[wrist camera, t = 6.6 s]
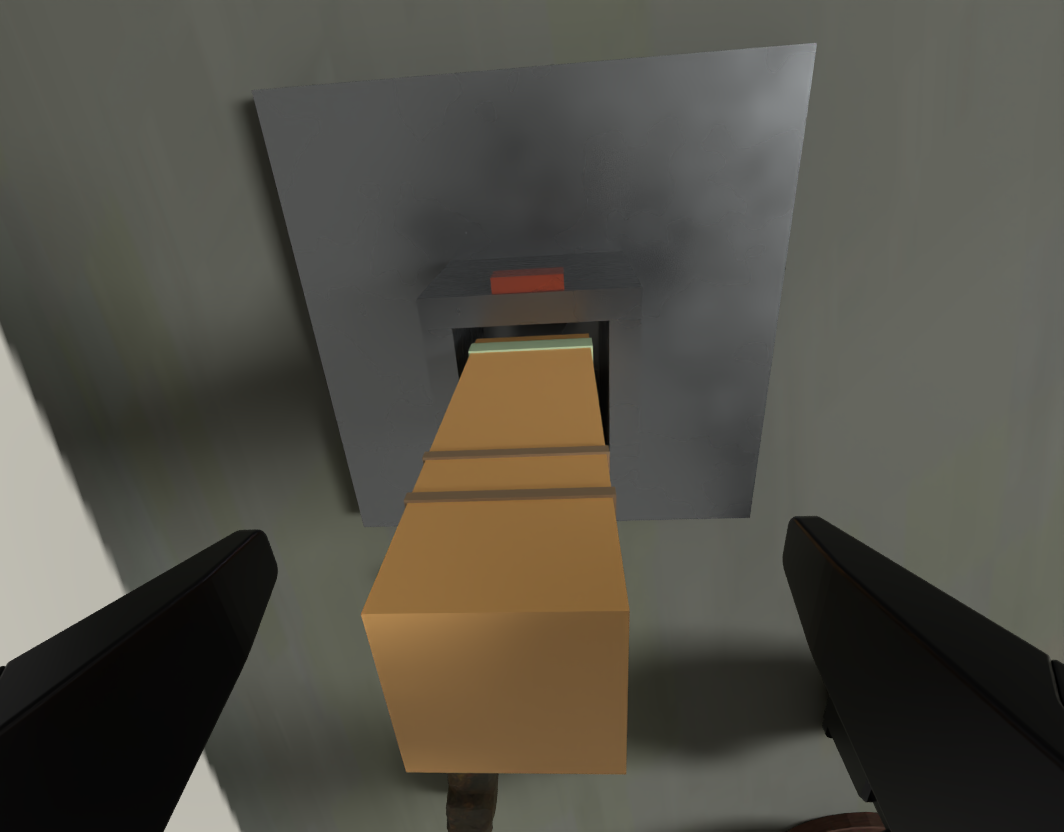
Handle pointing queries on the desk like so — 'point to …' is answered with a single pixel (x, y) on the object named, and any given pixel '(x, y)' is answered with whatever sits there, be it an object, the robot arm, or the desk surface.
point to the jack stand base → (552, 252)
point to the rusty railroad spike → (471, 801)
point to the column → (509, 577)
